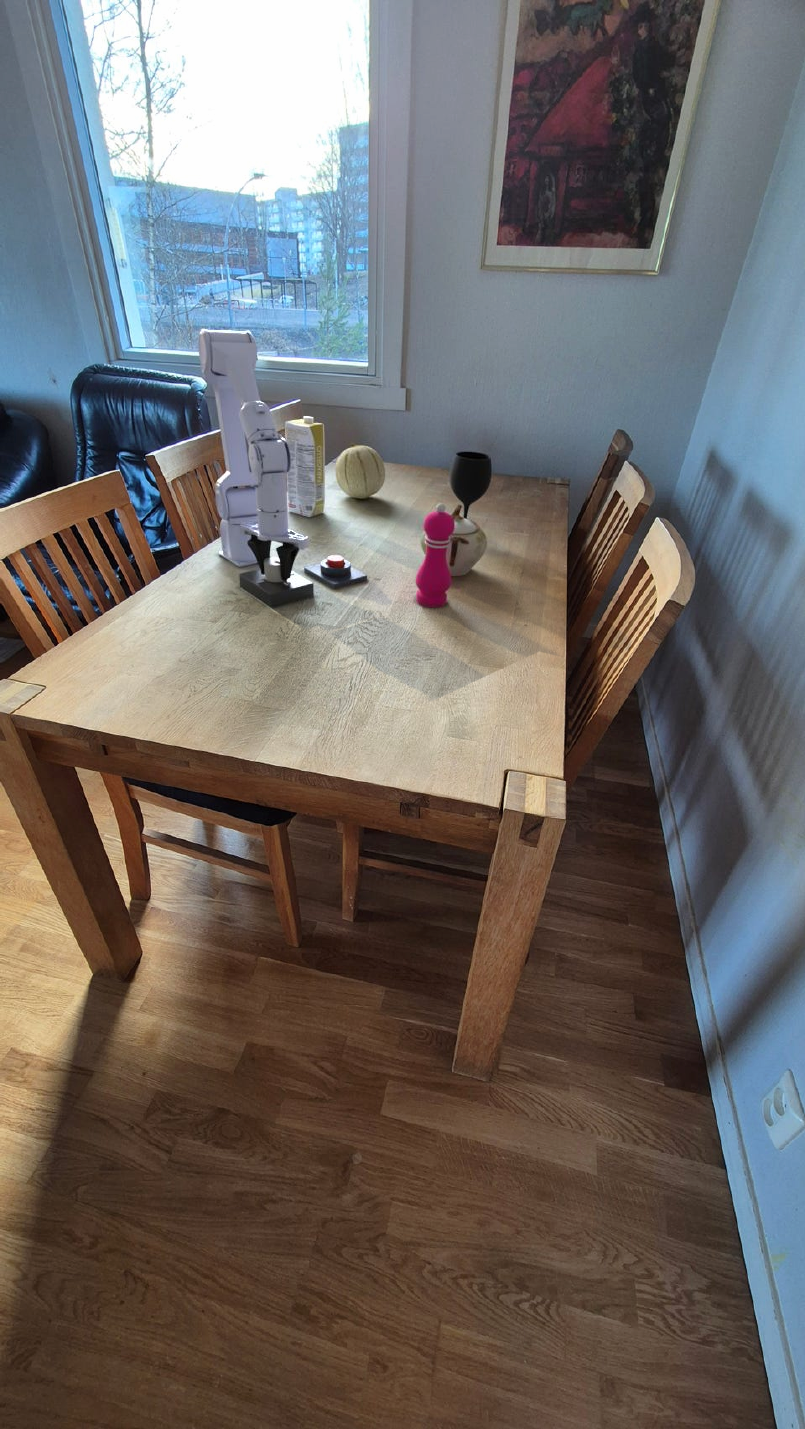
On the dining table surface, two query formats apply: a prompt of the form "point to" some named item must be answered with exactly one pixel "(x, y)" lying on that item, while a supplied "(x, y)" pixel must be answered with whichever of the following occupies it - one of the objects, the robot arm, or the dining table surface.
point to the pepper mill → (435, 559)
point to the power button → (335, 561)
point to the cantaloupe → (360, 471)
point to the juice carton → (306, 466)
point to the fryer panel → (276, 588)
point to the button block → (335, 574)
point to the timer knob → (272, 569)
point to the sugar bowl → (462, 545)
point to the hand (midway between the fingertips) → (275, 575)
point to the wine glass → (470, 477)
